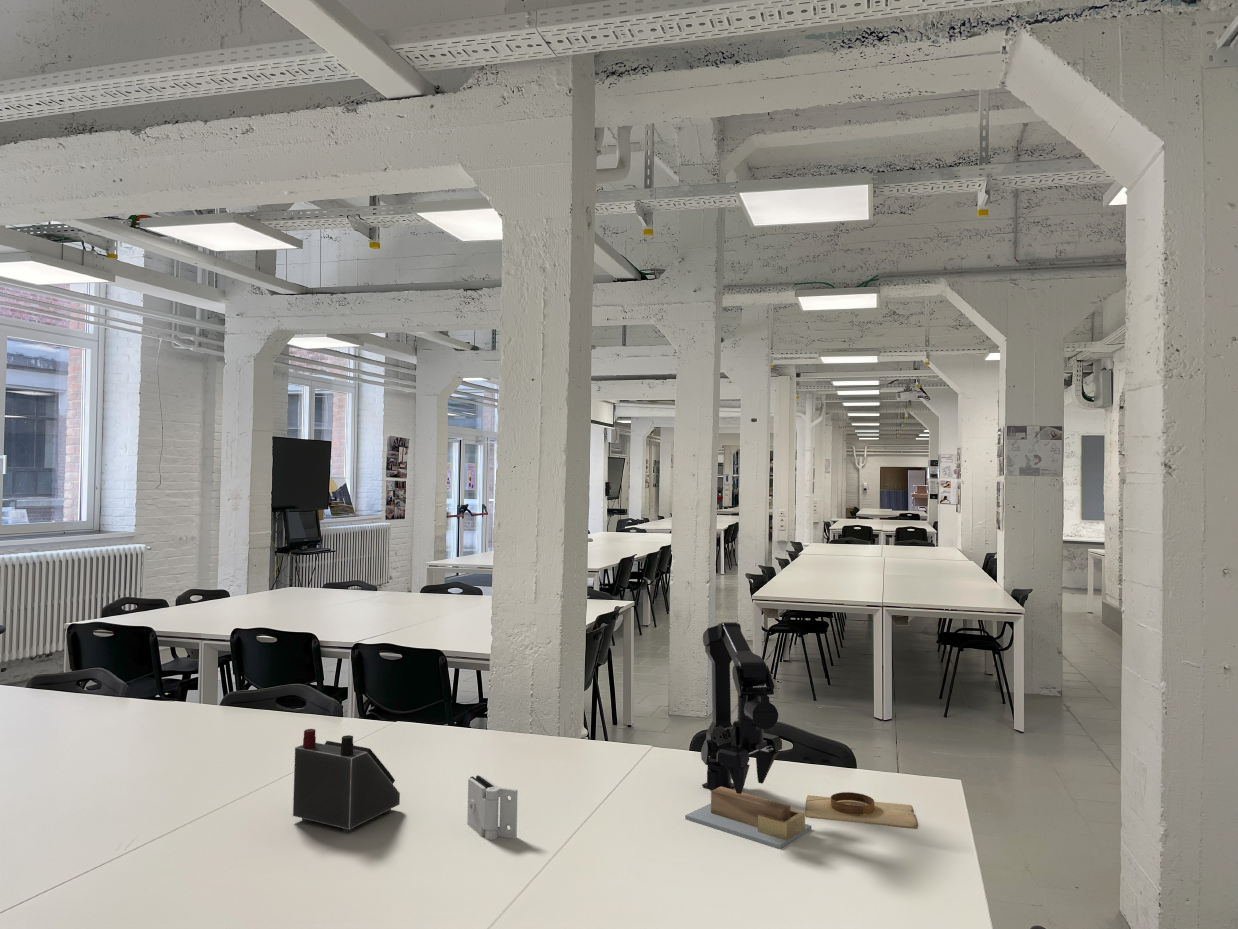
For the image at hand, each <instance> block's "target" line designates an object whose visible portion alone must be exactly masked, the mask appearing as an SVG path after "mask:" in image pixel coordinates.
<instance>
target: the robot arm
mask: <svg viewBox="0 0 1238 929" xmlns="http://www.w3.org/2000/svg"><path fill="white" fill-rule="evenodd" d="M702 642H703V646H704V652H705V653H706V655H707V658H708V659H709V660H710V662H711V698H712V703H711V705H712V707H711V708H712V715H711V716H712V722H711V723H710V725H709V726H708V728H707V730H706V733H705V734H706V735H705V740H704V742H703V744H702V747H701V750H700V757H701V761H702V762H703V764H704V765H705V766H707V767H706V768H707V770H706V782H704V783H703V784H701V787H703V788H706V789H709V790H714V789H716V788H718V787H725V788H729V789H732V790H733V789H734V790H736V793H738V794H741V793H742V792H743V790H744V787H745V783H746V779H747V776H748V772H749V770H750V764H748V763H749V762H750V755H751V754H753V755H754V757H755V761H756V762H755V763H756V764H755V766H756V775H757V782H758V783H759V784H762V785H763V784H764V782H765V780H766V778H767V776H768V775H769V773H770V772H769V771H770V769H771V768H772V766H773V764H774V762H775V760H776V758H777V757H778V755H779V754H780V751H781V750H783V740H782V739H781V737H780V736H779V735H775V734H772V733H771V734H770V733H765V732H764V730H769V729H771V728H773V727H775V725H776V724H777V722H778V719H779V712H778V709H777V708H776V706H775V705H774V704H773V703H772V702H770V696H771V695H772V696H773V695H774V694H775V692H774V689H775V683H774V680H773V676H772V673H771V670H770V669H769V666H768V665H767V664H766V661H764V659H763V658H762V656H760V655H758V654H755V653H754V652H753V651H752V649H751V647H750V645H749V644H748V642H747V640H746V637H745V636H744V634H743V632H742V626H741V624H740V622H739V623H738V622H736V621H735V622H734V621H733V622H732V621H731V622H729V621H728V622H727V621H725V622H720V623H718V624H717V625H714V626H711V627H708V628H706V630H705V631H704V632H703V634H702ZM731 662H733V666H732V670H731ZM731 671H732V672H731ZM731 673H732V674H731ZM731 675H732V680H733V683H734V686H735V689H736V692H737V720H735V721H733V722H732V712H731V711H732V710H731V706H732V704H731V696H732V695H731Z"/></svg>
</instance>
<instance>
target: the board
mask: <svg viewBox="0 0 1238 929" xmlns="http://www.w3.org/2000/svg"><path fill="white" fill-rule="evenodd" d="M805 799H806V800H805V810H804V813H805V818H807V819H808V818H809V819H819V820H827V821H828V820H829V821H837V822H846V823H847V822H848V823H855V824H864V825H875V826H885V827H894V828H895V827H896V828H902V829H903V828H904V829H913V830H915V829H916V830H918V829H919V828H918V827H919V826H918V822H917V818H916V815H915V812H913V811H914V809H913V807H912V805H911V804H903V803H893V802H881V801H875V799H873V797H871V796H868V795H866V794H863V793H858V792H850V791H848V792H847V791H843V792H842V791H841V792H837V793H836V792H835V793H833V794H832V795H831V796H818V795H807V796H806V798H805Z"/></svg>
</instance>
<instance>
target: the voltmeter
mask: <svg viewBox="0 0 1238 929" xmlns="http://www.w3.org/2000/svg"><path fill="white" fill-rule="evenodd" d="M316 738H317V736H316V729H315V728H307V729H304V730H303V739H302V742H303V743H302V744H301V745H298V746H295V747H294V767H293V768H294V769H293V771H294V772H293V773H294V774H293V798H292V799H293V801H292V802H293V803H292V817H295V818H301V820H302V823H307V824H308V823H311V822H317V823H321V824H325V825H329V826H334V827H337V828H342V831H343V832H344V833H351V832H353V831H354V828H355V827H357V826H359V825H362V824H363V823H365V822H367V821H369V820H371V819H373V818H375V817H377V816H379V815H382V814H384V815H386V814H390V813H391V810H392V809H394V808H395V807H397V806H399V805H400V804H401V798H400V797H401V793H400V791H399V790H398V788H396V786H395V785H394V783H395V781H396V779H395V778H394V776H393V775H392V774H391V772H390V771H389V770H388V768H387V767H386V766H385V765H384V764H383V762H382V761H381V760H380V759H379V758H378V756H377V755H376V754H375V753H374V751H372V749H371V748H369V747H364V746H357V745H354V735H350V734H349V735H343V736H342V737H341V742H336V741H330V740H326V741H325V743H319V742H317V740H316Z"/></svg>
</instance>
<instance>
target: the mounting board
mask: <svg viewBox="0 0 1238 929" xmlns="http://www.w3.org/2000/svg"><path fill="white" fill-rule="evenodd" d="M684 818H685V820H687V821H691V822H693V823H697V824H700V825H703V826H707V827H709V828H713V829H715V830H716V829H717V830H719V831H722V832H726V833H728V834H732V835H734V836H738V837H740V838H741V837H742V838H744V839H746V840H747V839H748V840H751V841H754V842H756V843H760V844H763V845H767V846H769V847H772V848H775V849H779V850H781V849H782V848H783V847H785V846H787V845H789V844H790V843H791V842H794V841H795V840H797V839H798V838H800V837H802V836H803V835H805V834H806V833H808V832H810V831H811V830H812V825H810V824H808V823H805V830H803V831H802V832H800V833H799V834H797V835H795V836H794V837H792V838H790V839H789V840H787V841H786V840H783V839H780V838H777V837H773V836H770V835H767V834H764V833H760V832H758V827H755V826H752V825H748V824H745V823H742V822H738V821H735V820H732V819H729V818H725V817H722V816H719V815H715V814H712V813H711V802H710V803H708V804H706V805H704V806H702V807H700V808H697V809H695V810H693V811H691V812H689V813H687V814H685V816H684Z"/></svg>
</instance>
